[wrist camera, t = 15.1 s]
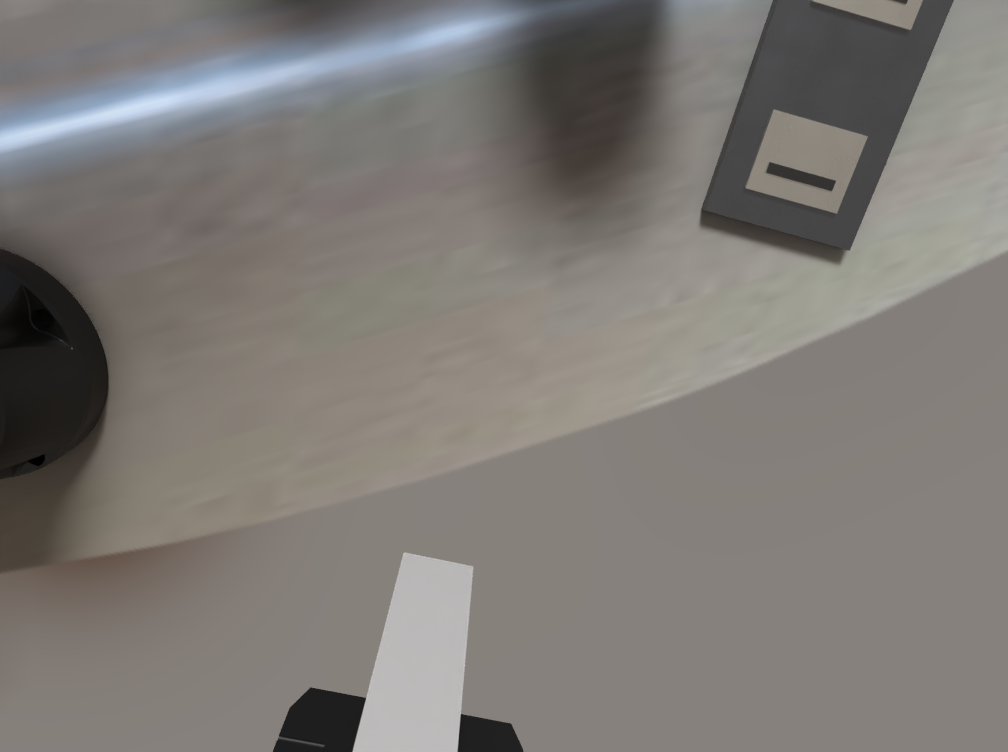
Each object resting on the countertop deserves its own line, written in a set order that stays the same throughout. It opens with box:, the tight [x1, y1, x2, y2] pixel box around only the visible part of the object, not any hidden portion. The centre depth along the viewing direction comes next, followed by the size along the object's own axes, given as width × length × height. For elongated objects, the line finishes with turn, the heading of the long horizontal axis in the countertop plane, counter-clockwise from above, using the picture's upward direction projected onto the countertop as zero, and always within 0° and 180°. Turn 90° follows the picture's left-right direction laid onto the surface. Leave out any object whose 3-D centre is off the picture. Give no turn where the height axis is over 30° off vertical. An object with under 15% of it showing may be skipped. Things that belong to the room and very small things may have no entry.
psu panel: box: [702, 0, 953, 251], centre depth 39 cm, size 9×18×1 cm, turn 165°
